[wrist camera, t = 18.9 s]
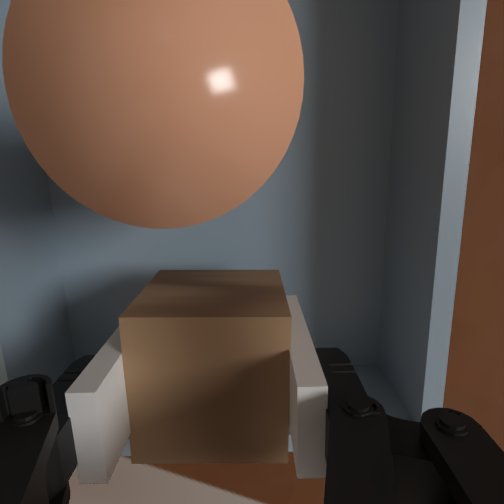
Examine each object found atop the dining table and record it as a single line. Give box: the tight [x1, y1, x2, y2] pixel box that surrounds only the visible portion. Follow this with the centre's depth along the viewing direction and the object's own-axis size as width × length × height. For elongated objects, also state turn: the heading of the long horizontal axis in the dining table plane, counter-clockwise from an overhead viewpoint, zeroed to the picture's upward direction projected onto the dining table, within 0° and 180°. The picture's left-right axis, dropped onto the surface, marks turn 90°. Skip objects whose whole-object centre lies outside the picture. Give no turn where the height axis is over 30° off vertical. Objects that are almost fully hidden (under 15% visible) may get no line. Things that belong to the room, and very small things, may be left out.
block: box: [119, 270, 292, 464], centre depth 14 cm, size 5×5×5 cm
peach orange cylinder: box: [2, 0, 304, 229], centre depth 12 cm, size 5×5×11 cm
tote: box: [0, 0, 487, 456], centre depth 15 cm, size 22×18×6 cm
